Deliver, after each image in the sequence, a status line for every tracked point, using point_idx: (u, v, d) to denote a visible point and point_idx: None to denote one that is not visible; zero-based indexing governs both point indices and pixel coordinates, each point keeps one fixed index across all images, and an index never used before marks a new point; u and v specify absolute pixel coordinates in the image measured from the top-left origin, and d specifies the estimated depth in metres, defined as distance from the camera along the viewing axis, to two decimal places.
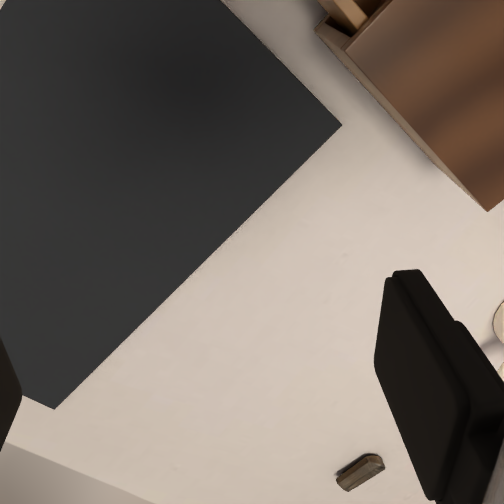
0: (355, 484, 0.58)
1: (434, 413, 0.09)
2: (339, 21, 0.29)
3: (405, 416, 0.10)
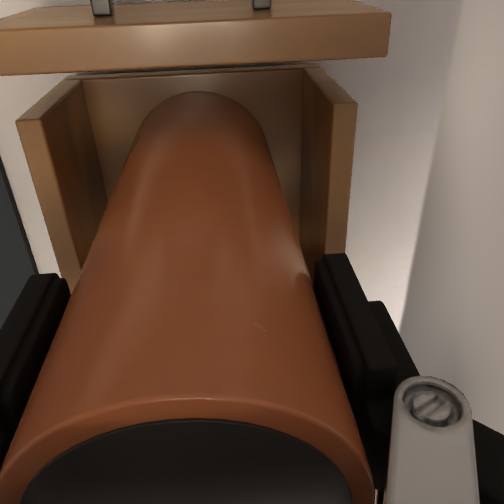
0: None
1: (343, 382, 0.09)
2: None
3: None
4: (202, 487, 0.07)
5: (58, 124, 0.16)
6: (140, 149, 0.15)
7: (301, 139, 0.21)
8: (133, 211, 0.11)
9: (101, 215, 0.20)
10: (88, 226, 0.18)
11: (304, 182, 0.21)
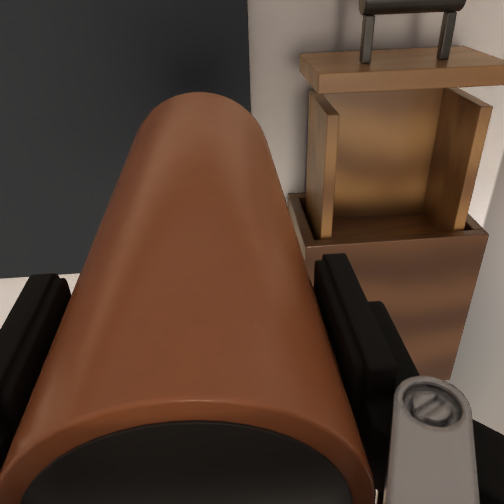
0: None
1: (343, 382, 0.09)
2: (310, 211, 0.37)
3: None
4: (202, 489, 0.07)
5: None
6: (140, 150, 0.15)
7: (437, 127, 0.36)
8: (133, 212, 0.11)
9: None
10: None
11: (438, 152, 0.36)
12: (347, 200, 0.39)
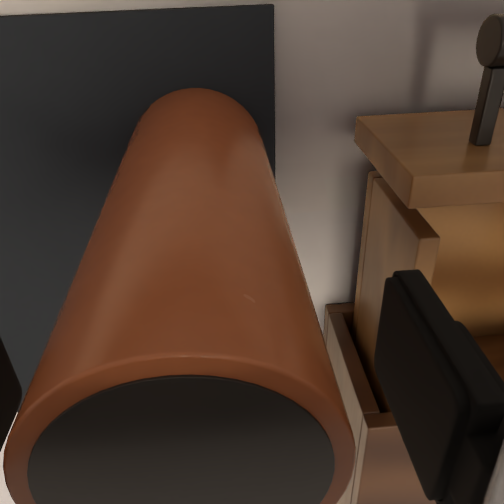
0: None
1: (434, 413, 0.09)
2: (362, 342, 0.25)
3: (405, 416, 0.10)
4: (196, 442, 0.08)
5: None
6: (138, 142, 0.16)
7: None
8: (132, 197, 0.12)
9: None
10: None
11: None
12: None
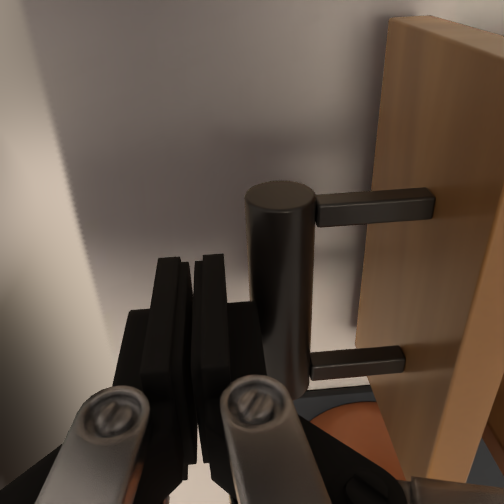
0: None
1: None
2: None
3: None
4: None
5: None
6: None
7: None
8: None
9: None
10: None
11: None
12: None
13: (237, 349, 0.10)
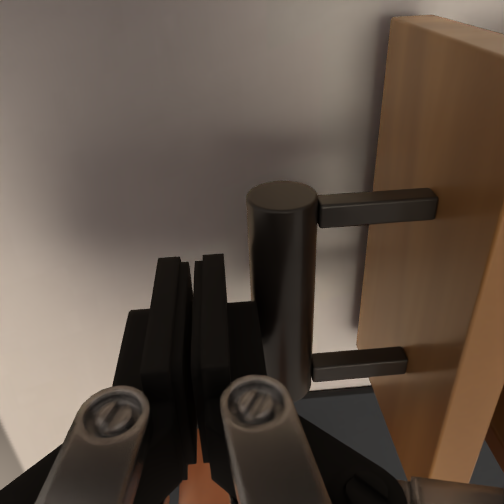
0: None
1: None
2: None
3: None
4: None
5: None
6: None
7: None
8: None
9: None
10: None
11: None
12: None
13: (237, 349, 0.10)
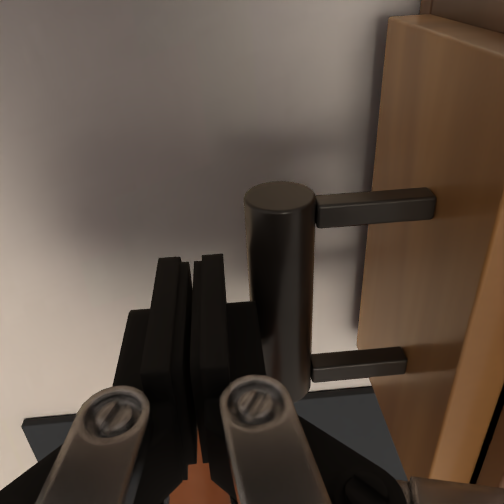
0: None
1: None
2: None
3: None
4: None
5: None
6: None
7: None
8: None
9: None
10: None
11: None
12: None
13: (236, 349, 0.10)
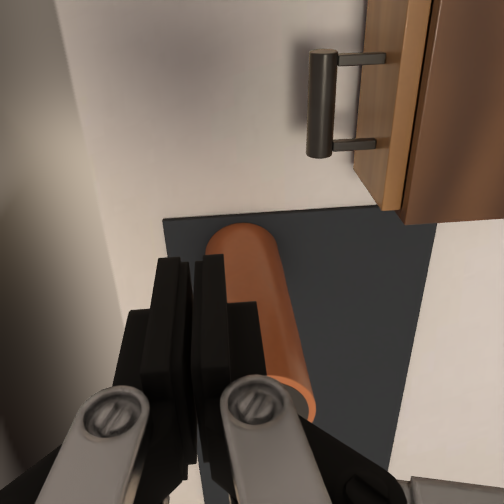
0: None
1: None
2: None
3: None
4: None
5: None
6: None
7: None
8: None
9: None
10: None
11: None
12: None
13: (237, 349, 0.10)
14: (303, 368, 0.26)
